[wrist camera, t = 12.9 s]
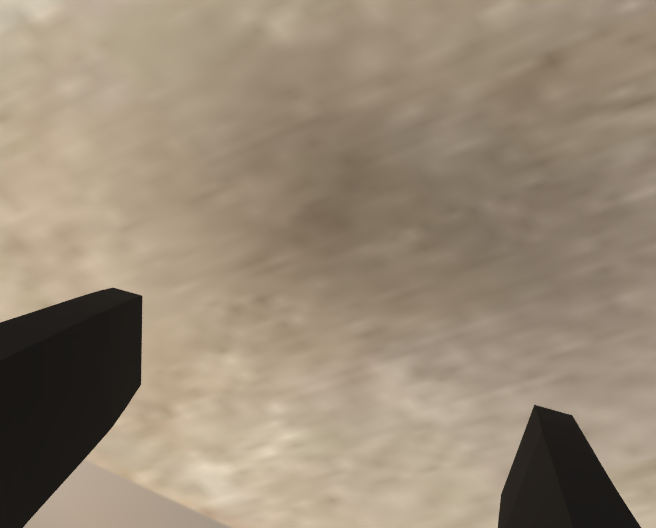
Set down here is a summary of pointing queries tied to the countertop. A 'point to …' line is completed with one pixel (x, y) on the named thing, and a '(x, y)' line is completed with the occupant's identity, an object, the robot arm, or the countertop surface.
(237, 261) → the countertop surface
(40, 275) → the countertop surface
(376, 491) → the countertop surface
